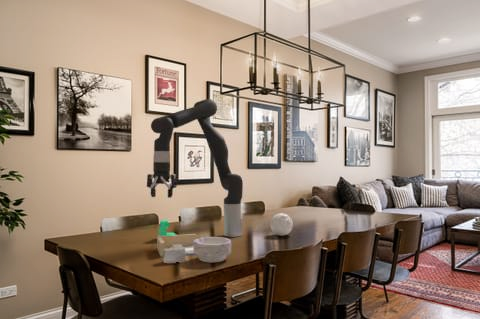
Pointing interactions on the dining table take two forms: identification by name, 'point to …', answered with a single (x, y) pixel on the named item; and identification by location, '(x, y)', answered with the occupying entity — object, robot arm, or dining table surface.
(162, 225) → the camera mount
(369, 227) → the dining table surface
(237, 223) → the robot arm
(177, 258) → the aluminium bracket
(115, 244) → the dining table surface
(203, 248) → the white marbled bowl
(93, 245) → the dining table surface
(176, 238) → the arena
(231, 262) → the dining table surface
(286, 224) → the decorative ball
